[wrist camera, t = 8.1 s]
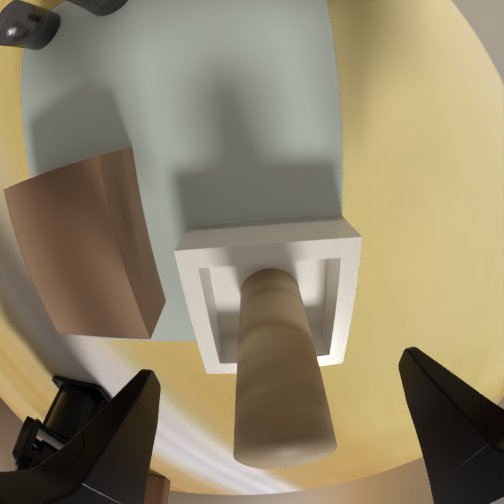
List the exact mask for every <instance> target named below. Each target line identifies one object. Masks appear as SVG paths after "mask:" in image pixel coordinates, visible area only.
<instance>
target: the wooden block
mask: <svg viewBox="0 0 504 504" xmlns="http://www.w3.org/2000/svg"><path fill="white" fill-rule="evenodd" d="M169 488H170V481H169V480H168V479H166V478H165V477H162V476H157V475H151V474H148V480H147V486H146V493H145V499H144V504H167V502H168V495H169Z"/></svg>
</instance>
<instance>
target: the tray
mask: <svg viewBox="0 0 504 504" xmlns="http://www.w3.org/2000/svg"><path fill="white" fill-rule="evenodd" d="M361 241H362V237H361V236H360V234H359V233H358V232H357V231H356V230H355V229H354V228H353V227H352V226H351V225H350V224H349V222H348V221H347V220H346V219H345V218H344V217H343V216H325V217H308V218H292V219H277V220H263V221H250V222H238V223H226V224H214V225H203V226H193V227H188V228H187V229H186V231H185V233H184V234H183V236H182V238H181V240H180V241H179V243H178V245H177V247H176V248H175V250H174V253H175V258H176V262H177V267H178V271H179V275H180V279H181V283H182V287H183V292H184V295H185V299H186V303H187V307H188V311H189V315H190V318H191V322H192V326H193V329H194V333H195V336H196V340H197V343H198V346H199V350H200V353H201V356H202V360H203V363H204V366H205V369H206V372H207V374H221V373H237V358H238V337H239V317H240V298H241V288H242V285H243V283H244V282H245V280H246V279H247V278H248V277H249V276H250V275H252V274H253V273H255V272H257V271H259V270H263V269H269V268H274V269H280V270H283V271H285V272H287V273H289V274H290V275H292V276H293V277H294V279H295V280H296V281H297V283H298V286H299V290H300V294H301V297H302V301H303V305H304V308H305V312H306V316H307V320H308V324H309V327H310V331H311V335H312V339H313V343H314V347H315V351H316V355H317V359H318V363H319V366H325V365H332V364H339V363H343V358H344V354H345V349H346V344H347V339H348V334H349V329H350V323H351V317H352V311H353V305H354V299H355V292H356V285H357V277H358V269H359V261H360V251H361Z"/></svg>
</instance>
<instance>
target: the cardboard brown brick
mask: <svg viewBox="0 0 504 504" xmlns="http://www.w3.org/2000/svg"><path fill="white" fill-rule="evenodd" d="M4 193H5V198H6V202H7V206H8V210H9V214H10V218H11V221H12V225H13V228H14V232H15V235H16V238H17V241H18V244H19V247H20V250H21V253H22V256H23V258H24V261H25V264H26V266H27V269H28V271H29V274H30V276H31V279H32V281H33V284H34V286H35V288H36V290H37V293H38V295H39V297H40V299H41V301H42V303H43V305H44V307H45V309H46V311H47V313H48V315H49V317H50V319H51V321H52V323H53V325H54V327H55V329H56V330H57V332H58V333H65V334H74V335H85V336H96V337H110V338H127V339H151V337H152V335H153V332H154V330H155V327H156V325H157V322H158V320H159V317H160V315H161V312H162V310H163V308H164V305H165V303H166V299H165V295H164V292H163V288H162V285H161V281H160V278H159V274H158V270H157V266H156V263H155V259H154V255H153V251H152V247H151V243H150V238H149V234H148V230H147V225H146V221H145V216H144V211H143V206H142V201H141V196H140V191H139V185H138V179H137V174H136V167H135V161H134V154H133V147H131V148H127V149H123V150H119V151H115V152H111V153H107V154H103V155H99V156H96V157H92V158H89V159H85V160H82V161H79V162H75V163H72V164H69V165H66V166H63V167H60V168H57V169H54V170H51V171H49V172H46V173H43V174H40V175H38V176H35V177H33V178H30V179H28V180H25V181H23V182H20V183H18V184H15V185H13V186H11V187H8V188H6V189H4Z"/></svg>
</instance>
